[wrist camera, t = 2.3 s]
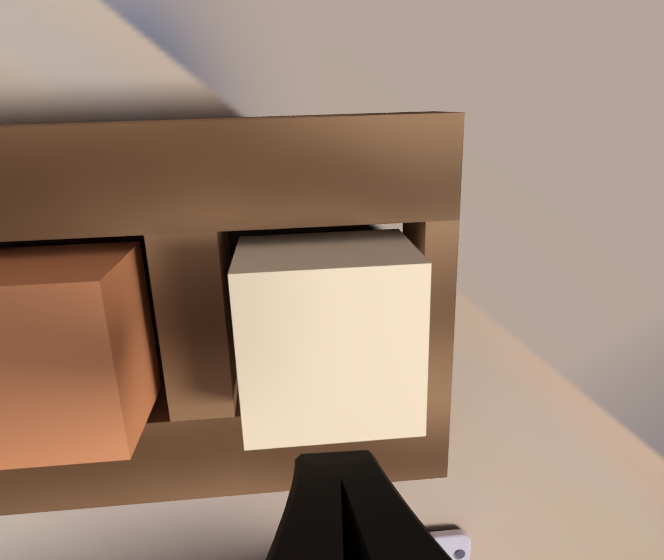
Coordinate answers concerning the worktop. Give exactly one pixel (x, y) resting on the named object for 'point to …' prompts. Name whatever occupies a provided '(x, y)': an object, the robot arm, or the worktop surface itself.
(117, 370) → the salmon pink cube
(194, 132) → the slotted board
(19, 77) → the worktop surface
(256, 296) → the ivory cube
